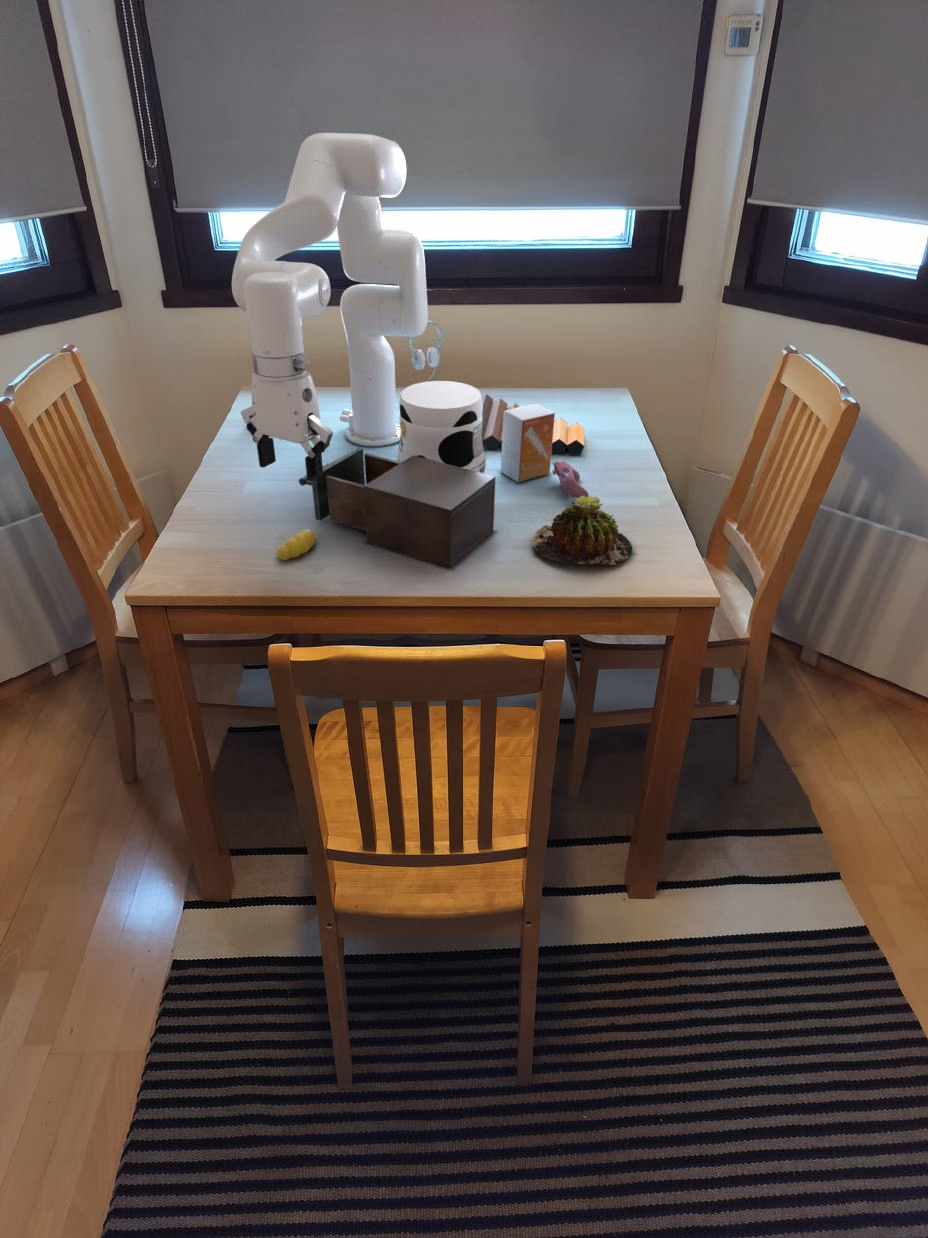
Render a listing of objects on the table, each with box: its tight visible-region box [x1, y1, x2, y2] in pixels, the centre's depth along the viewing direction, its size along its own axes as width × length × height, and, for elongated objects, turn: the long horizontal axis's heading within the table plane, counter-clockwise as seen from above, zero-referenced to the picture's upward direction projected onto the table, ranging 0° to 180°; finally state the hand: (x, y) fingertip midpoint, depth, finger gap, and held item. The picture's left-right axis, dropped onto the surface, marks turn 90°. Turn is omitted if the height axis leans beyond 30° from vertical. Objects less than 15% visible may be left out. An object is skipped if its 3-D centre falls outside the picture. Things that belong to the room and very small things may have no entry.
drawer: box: [298, 447, 402, 532], centre depth 149 cm, size 21×14×9 cm, turn 60°
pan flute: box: [481, 393, 585, 456], centre depth 186 cm, size 25×3×25 cm
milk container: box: [395, 380, 487, 474], centre depth 158 cm, size 17×17×18 cm
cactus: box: [531, 495, 633, 566], centre depth 140 cm, size 17×16×10 cm
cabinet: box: [364, 455, 496, 570], centre depth 142 cm, size 17×15×11 cm
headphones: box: [408, 319, 443, 382], centre depth 192 cm, size 8×4×20 cm, turn 120°
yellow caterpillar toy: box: [275, 529, 316, 561], centre depth 140 cm, size 9×4×3 cm, turn 150°
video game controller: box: [551, 458, 590, 499], centre depth 160 cm, size 10×5×7 cm, turn 5°
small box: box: [500, 403, 555, 483], centre depth 164 cm, size 8×6×13 cm
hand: (291, 471), depth 132 cm, fingers open, 9 cm apart
